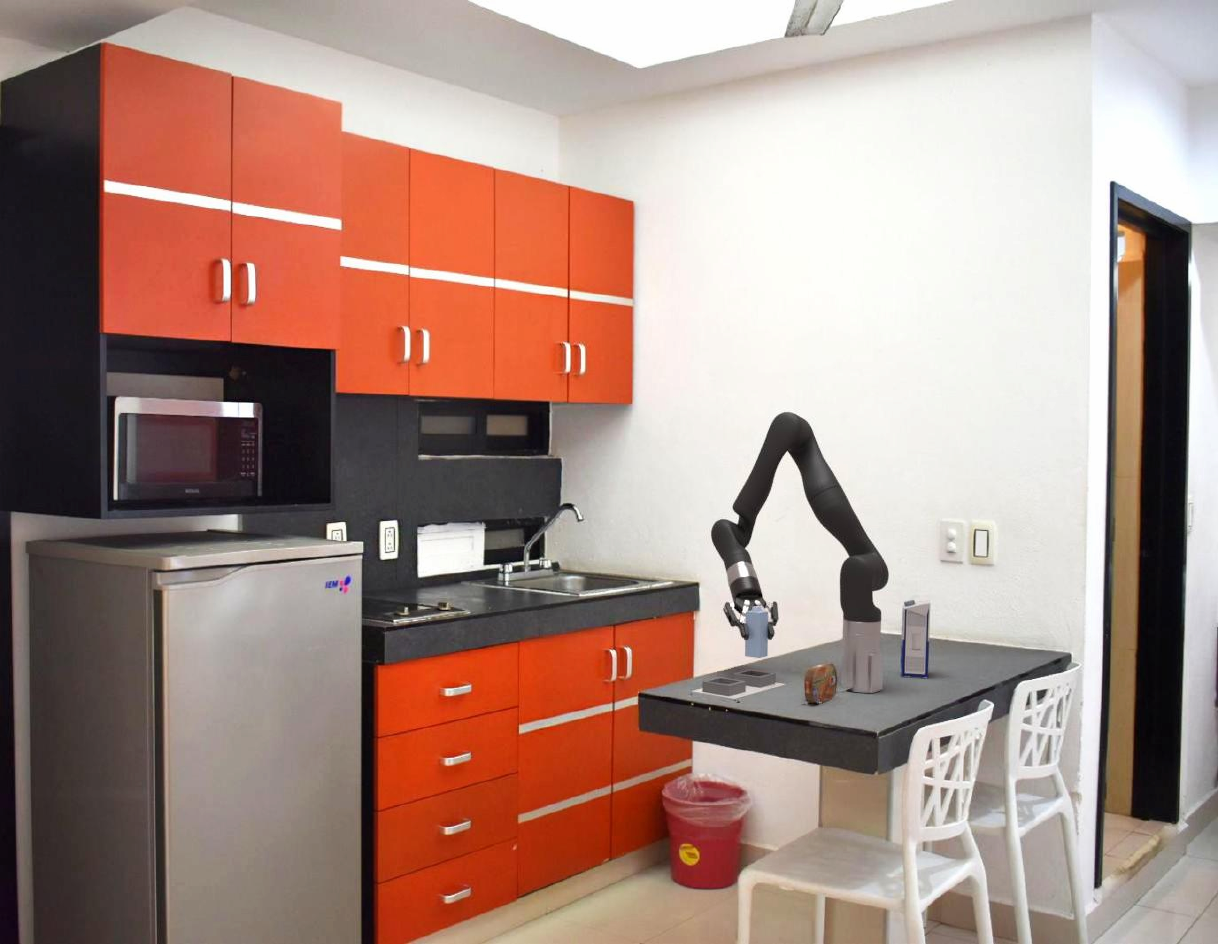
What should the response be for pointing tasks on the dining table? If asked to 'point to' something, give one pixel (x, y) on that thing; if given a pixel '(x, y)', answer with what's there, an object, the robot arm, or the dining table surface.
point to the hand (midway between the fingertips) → (759, 637)
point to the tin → (820, 683)
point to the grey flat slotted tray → (739, 684)
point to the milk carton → (915, 638)
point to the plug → (757, 633)
